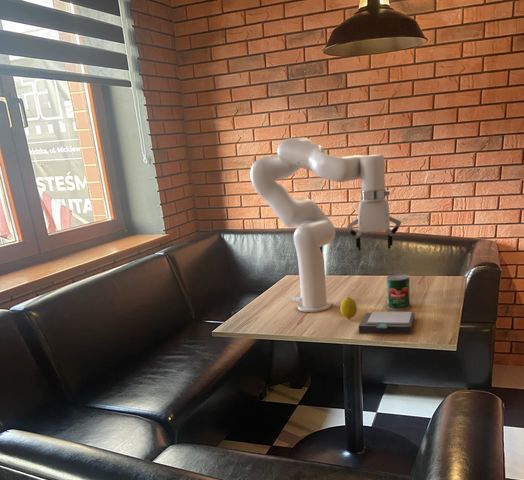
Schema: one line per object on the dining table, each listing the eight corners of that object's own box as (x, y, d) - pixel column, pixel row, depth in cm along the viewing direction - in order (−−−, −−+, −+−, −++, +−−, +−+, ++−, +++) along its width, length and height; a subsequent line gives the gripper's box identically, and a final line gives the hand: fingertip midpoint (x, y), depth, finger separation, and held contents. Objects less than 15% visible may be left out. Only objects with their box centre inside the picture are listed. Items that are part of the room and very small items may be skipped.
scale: (357, 335, 169) (357, 326, 168) (366, 319, 183) (366, 310, 182) (409, 336, 163) (409, 327, 162) (414, 320, 177) (414, 311, 176)
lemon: (356, 321, 182) (355, 299, 179) (340, 322, 183) (339, 299, 180) (357, 316, 187) (356, 294, 184) (341, 317, 188) (340, 295, 185)
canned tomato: (402, 302, 197) (402, 273, 193) (414, 307, 190) (413, 277, 186) (383, 306, 196) (382, 276, 192) (393, 311, 188) (393, 280, 185)
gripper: (400, 192, 173) (400, 245, 179) (346, 196, 177) (348, 248, 183) (401, 194, 166) (401, 249, 173) (345, 199, 170) (347, 252, 176)
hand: (374, 248), depth 178 cm, fingers open, 9 cm apart
